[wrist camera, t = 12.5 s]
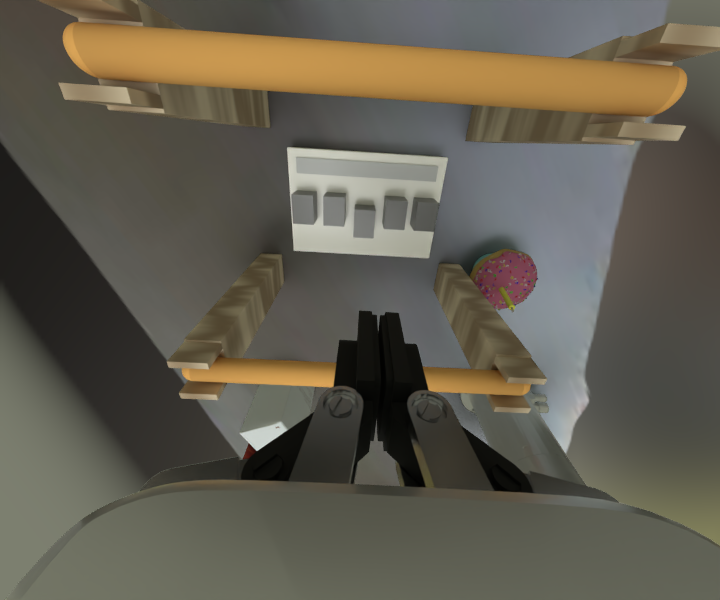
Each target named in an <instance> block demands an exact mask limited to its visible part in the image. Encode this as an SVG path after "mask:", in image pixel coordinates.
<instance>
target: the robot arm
mask: <svg viewBox="0 0 720 600" xmlns="http://www.w3.org/2000/svg"><path fill="white" fill-rule="evenodd" d="M523 396H524V398H525V399H526V401H527V403H528V404H529V406H530V407H531V410H530V412H529V413H512V412H493V409H492V407H491V405H490V403H489V401H488V399H487V397H486V395H485V394H472V393H460V398H461V401H462V403H463V405H464V406H465V407H466V408H467V409H468V410H469V411H471V412H474V413H476V416H477V418H478V420H479V423H480V425H481V428H482V430H483V432H484V435H485V437H486V440H487V442H488V444H489V446H488V445H487V444H486V443H484V442H483V441H481V440H480V439H479V438H477V437H476V436H474V435H473V434H472V433H470V432H469V431H468V430H466V429H465V428H463V427H462V426H461V425H460V423H459V421H458V419H457V417H456V415H455V413H454V411H453V409H452V407H451V405H450V404H449V402H448V401H447V400H446V399H445V398H444V397H443V396H441V395H439V394H438V393H436V392H432V391H429V389H428V385H427V382H426V378H425V374H424V370H423V366H422V362H421V359H420V355H419V351H418V347H417V345H416V344H405V342H404V337H403V332H402V327H401V322H400V317H399V313H391V312H386V313H385V315H380V322H379V331H378V326H377V315H372V311H359V321H358V337H357V341H350V340H339V347H338V355H337V362H336V370H335V378H334V385H333V387H332V388H329V389H327V390H326V391H325V392H324V393H322V395H321V396H320V398H319V400H318V403H317V406H316V408H315V411H314V412H313V413H312V414H310V415H309V416H308V417H306V418H305V419H303V420H302V421H300V422H299V423H297V424H296V425H294V426H293V427H291V428H290V429H288V430H287V431H286V432H284V433H283V434H281V435H280V436H278V437H277V438H275V439H274V440H272V441H271V442H269V443H268V444H266V445H265V446H264V447H262V448H261V449H259V450H258V451H256V452H255V453H254V454H253V455H252V456H251V457H249V458H247V459H242V460H240V459H239V457H233V458H227V459H222V460H216V461H211V462H205V463H199V464H194V465H188V466H182V467H176V468H171V469H168V470H165V471H162V472H160V473H158V474H157V475H155V476H154V477H152V478H151V479H150V480H149V481H148V482H147V483H146V484H145V485H144V486H143V487H142V488H141V490H140V491H139V492H137V493H134V494H131V495H128V496H126V497H124V498H121V499H118V500H116V501H114V502H111V503H109V504H107V505H105V506H103V507H101V508H99V509H97V510H96V511H94V512H92V513H91V514H89V515H88V516H86V517H84V518H83V519H82V520H80V521H79V522H78V523H77V524H75V525H74V526H73V527H72V528H70V529H69V530H68V531H67V532H66V533H65V534H64V535H63V536H62V537H61V538H60V539H58V540H57V542H55V543H54V545H53V546H52V547H51V548H50V549H49V550H48V551H47V552H46V553H45V554H44V555H43V556H42V557H41V558H40V559H39V560H38V562H37V563H36V564H35V565H34V566H33V567H32V568H31V570H30V571H29V572H28V573H27V574H26V575H25V576H24V577H23V579H22V580H21V581H20V582H19V583H18V584H17V585H16V586H15V588H14V589H13V590H12V591H11V592H10V594H9V595H8V596H7V597H6V598H5V600H720V546H719V545H718V544H717V543H715V542H713V541H712V540H711V539H709V538H707V537H705V536H703V535H702V534H700V533H698V532H696V531H694V530H692V529H690V528H688V527H686V526H684V525H682V524H680V523H678V522H675V521H673V520H670V519H668V518H665V517H663V516H660V515H658V514H655V513H653V512H650V511H647V510H644V509H640V508H637V507H633V506H630V505H626V504H622V503H619V502H618V501H617V500H616V499H615V498H613V497H612V496H610V495H609V494H607V493H605V492H603V491H601V490H598V489H596V488H592V487H588V486H586V484H585V483H584V481H583V480H582V478H581V477H580V475H579V474H578V472H577V471H576V469H575V468H574V466H573V465H572V463H571V462H570V460H569V459H568V457H567V455H566V454H565V452H564V451H563V449H562V448H561V446H560V445H559V443H558V442H557V440H556V438H555V437H554V435H553V434H552V432H551V431H550V429H549V428H548V426H547V425H546V423H545V422H544V420H543V418H542V417H541V415H540V414H539V413H548V412H549V407H548V404H547V403H546V401H547V397H546V395H545V394H533V393H531V391H530V390H529V391H528V392H527V393H526V394H524V395H523ZM535 401H537V402H535ZM376 419H377V435H378V441H383V448H384V451H387V453H388V454H389V455H390V456H391V457H392V458H394V459H395V466H396V472H397V476H398V480H399V484H400V486H382V485H360V484H355V480H356V474H357V468H358V461H359V460H361V459H362V458H363V457H364V456H365V455H366V454H367V453H368V452H369V447H370V441H374V434H375V426H376Z"/></svg>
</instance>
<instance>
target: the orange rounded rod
mask: <svg viewBox="0 0 720 600" xmlns="http://www.w3.org/2000/svg"><path fill="white" fill-rule="evenodd" d="M63 43H64V46H65V49H66V51H67V53H68V55H69V56H70V58H71V59H72V60H73V62H74V63H75V64H76V65H77V66H78V67H79V68H81V69H82V70H83V71H85V72H86V73H88V74H89V75H91V76H94V77H96V78H99V79H106V80H120V81H135V82H149V83H163V84H178V85H192V86H207V87H221V88H235V89H250V90H264V91H279V92H293V93H307V94H322V95H336V96H351V97H365V98H379V99H394V100H408V101H423V102H437V103H452V104H466V105H480V106H495V107H509V108H524V109H538V110H552V111H567V112H581V113H596V114H610V115H624V116H639V117H648V116H653V115H656V114H659V113H661V112H663V111H665V110H666V109H668V108H669V107H671V106H672V105H673V104H674V103H675V102H676V101H677V100H678V99H679V98H680V97H681V95H682V94H683V92H684V90H685V88H686V85H687V76H686V74H685V72H684V71H683V70H682V69H680V68H679V67H676V66H669V65H655V64H642V63H628V62H615V61H601V60H588V59H574V58H561V57H547V56H534V55H520V54H507V53H493V52H480V51H466V50H453V49H439V48H426V47H412V46H399V45H386V44H372V43H359V42H345V41H332V40H318V39H305V38H291V37H278V36H264V35H251V34H237V33H224V32H210V31H197V30H183V29H170V28H156V27H143V26H129V25H116V24H102V23H89V22H74V23H71V24H69V25H68V26H67V27H66V28H65V30H64V33H63Z"/></svg>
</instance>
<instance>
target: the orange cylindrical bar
mask: <svg viewBox="0 0 720 600" xmlns="http://www.w3.org/2000/svg"><path fill="white" fill-rule="evenodd" d="M335 370H336V363H331V362H309V361H288V360H266V359H245V358H223V357H217V358H216V360H215V361H214V363H213V364H212V366H211V367H210V369H190V368H182V373H183V376H184V377H185V378H186V379H188V380H190V381H201V382H224V383H246V384H269V385H291V386H314V387H333V385H334V378H335ZM423 370H424V374H425V378H426V382H427V385H428V389H429V391H432V392H449V393H472V394H494V395H517V396H520V395H524V394H526V393H527V392H528V391H529V390H530V387H531V384H520V383H506V381H505V379H504V378H503V376H502V374H501V373H500V371H499V370H481V369H460V368H438V367H423Z"/></svg>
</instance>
